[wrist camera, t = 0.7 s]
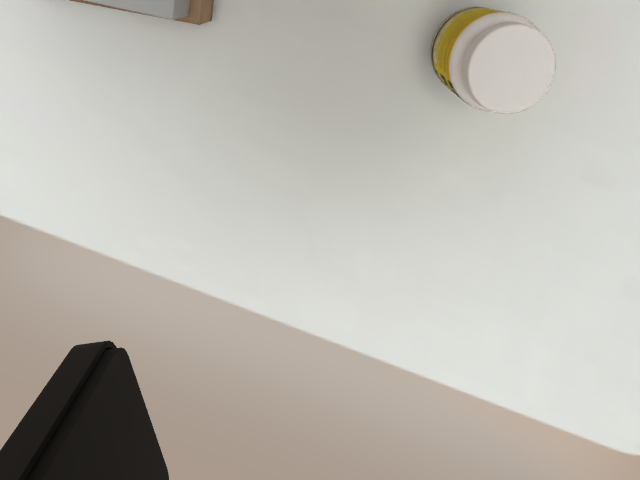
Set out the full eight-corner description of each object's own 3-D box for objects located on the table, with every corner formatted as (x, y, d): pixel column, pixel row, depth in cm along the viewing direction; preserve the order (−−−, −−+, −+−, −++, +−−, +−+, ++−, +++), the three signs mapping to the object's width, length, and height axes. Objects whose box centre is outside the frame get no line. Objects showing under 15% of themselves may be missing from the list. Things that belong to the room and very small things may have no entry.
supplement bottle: (417, 77, 36) (441, 103, 28) (448, -5, 34) (483, -1, 26) (492, 102, 36) (537, 135, 29) (526, 22, 35) (583, 34, 27)
